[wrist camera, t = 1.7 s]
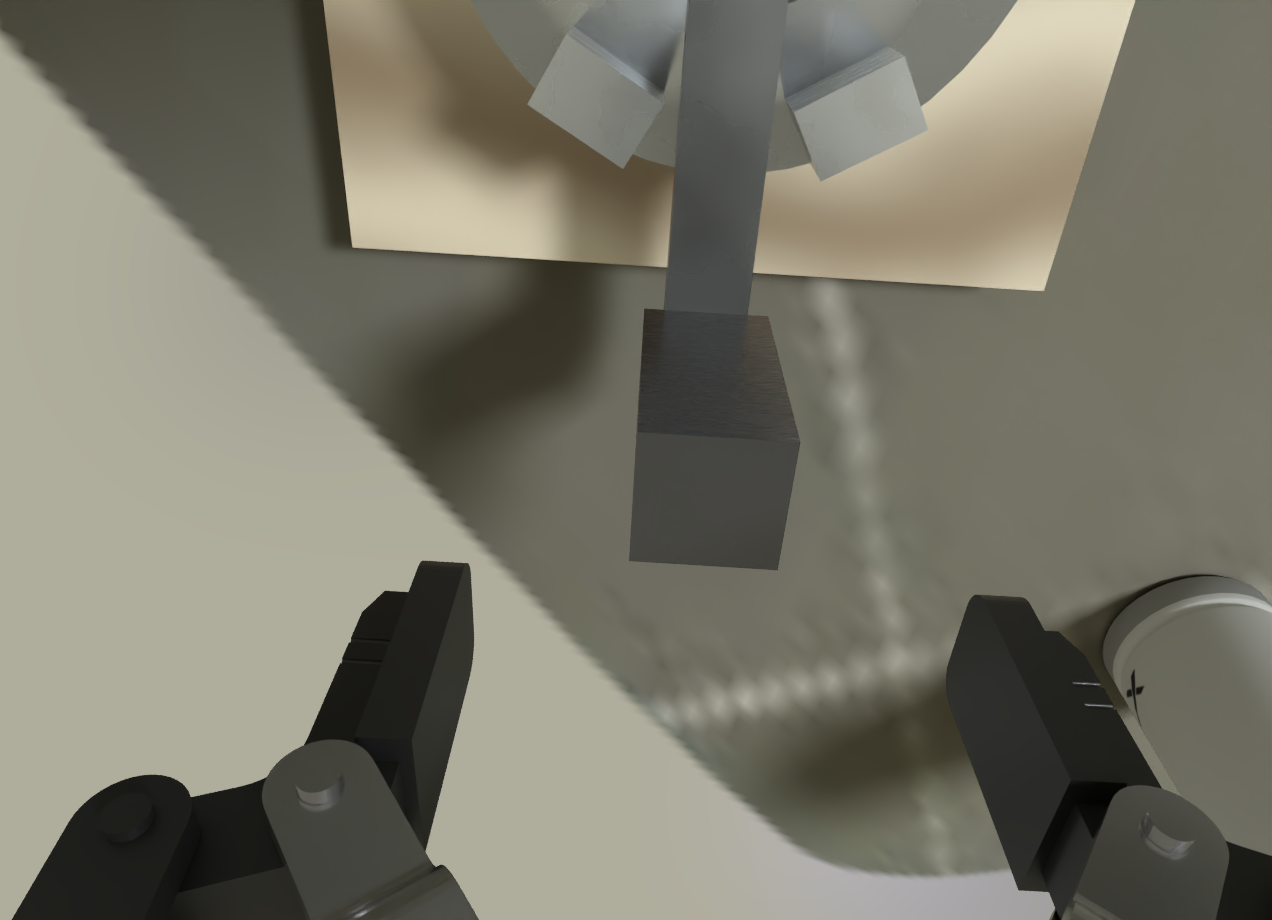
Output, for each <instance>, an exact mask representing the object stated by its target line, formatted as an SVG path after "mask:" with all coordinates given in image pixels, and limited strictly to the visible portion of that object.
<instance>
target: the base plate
mask: <svg viewBox="0 0 1272 920" xmlns="http://www.w3.org/2000/svg"><path fill="white" fill-rule="evenodd" d="M323 3H324V11H325V20H326V28H327V37H328V45H329V53H330V62H331V70H332V79H333V87H334V96H335V104H336V113H337V121H338V130H339V138H340V147H341V155H342V164H343V172H344V181H345V189H346V197H347V206H348V214H349V223H350V231H351V240H352V247H354V248H369V249H385V250H401V251H417V252H433V253H449V254H465V255H480V256H496V257H512V258H528V259H544V260H560V261H576V262H591V263H607V264H623V265H639V266H655V267H667V260H668V247H669V234H670V221H671V208H672V195H673V182H674V169H675V167H671V166H667V165H664V164H660V163H656V162H653V161H649V160H646V159H643V158H641V157H638V156H636V155H634V154H632V156H631V157H630V159H629V160H628V162H627V164H626V165H625V167H624V168H623V169H622V168H621V167H619V166H618V165H616V164H615V163H613V162H612V161H610V160H609V159H607V158H606V157H604V156H603V155H601V154H600V153H598V152H597V151H595V150H594V149H592V148H591V147H589V146H588V145H587V144H585V143H584V142H582V141H581V140H579V139H578V138H576V137H575V136H573V135H572V134H570V133H569V132H567V131H566V130H564V129H563V128H561V127H560V126H558V125H557V124H555V123H554V122H552V121H551V120H549V119H548V118H546V117H545V116H543V115H542V114H541V113H539V112H538V111H536V110H535V109H533V108H532V107H530V106H529V105H527V104H528V102H529V100H530V99H531V97H532V95H533V93H534V91H535V90H536V89H535V88H534V87H533V86H532V85H531V84H530V83H529V82H528V81H527V80H526V79H525V78H524V77H523V76H522V75H521V74H520V73H519V71H518V70H517V69H516V67H515V66H514V65H513V64H512V62H511V61H510V60H509V59H508V57H507V56H506V55H505V53H504V52H503V51H502V50H501V48H500V47H499V46H498V45H497V43H496V42H495V41H494V39H493V37H492V36H491V34H490V32H489V31H488V29H487V27H486V26H485V24H484V22H483V21H482V19H481V18H480V16H479V14H478V13H477V11H476V9H475V8H474V6H473V4H472V3H471V0H323ZM1134 3H1135V0H1018V1H1017V2H1016V3H1015V5H1014V6H1013V8H1012V9H1011V11H1010V12H1009V13H1008V15H1007V16H1006V18H1005V19H1004V20H1003V22H1002V23H1001V25H1000V26H999V27H998V29H997V30H996V32H995V33H994V34H993V36H992V37H991V38H990V40H989V41H988V42H987V43H986V44H985V45H984V46H983V47H982V49H981V50H980V51H979V52H978V53H977V54H976V55H975V57H974V58H973V59H972V60H971V61H970V62H969V63H968V65H967V66H966V67H965V68H964V69H963V70H962V71H961V72H960V73H959V74H958V75H957V76H956V77H955V78H954V79H952V80H951V81H950V82H949V83H948V84H947V85H946V86H945V87H944V88H943V89H942V90H940V91H939V92H938V93H937V94H936V95H935V96H934V97H933V98H932V99H931V100H929V101H928V102H927V103H925V104H924V105H923V106H921V109H922V112H923V115H924V118H925V121H926V124H927V127H928V131H925V132H923V133H921V134H919V135H917V136H915V137H913V138H911V139H909V140H907V141H905V142H902V143H900V144H898V145H896V146H894V147H892V148H890V149H888V150H886V151H884V152H882V153H880V154H877V155H875V156H873V157H871V158H869V159H867V160H865V161H863V162H861V163H859V164H857V165H854V166H852V167H850V168H848V169H846V170H844V171H842V172H840V173H838V174H836V175H834V176H831V177H829V178H827V179H825V180H823V181H820V180H819V178H818V176H817V174H816V173H815V171H814V169H813V168H812V166H811V164H810V163H809V164H805V165H801V166H798V167H794V168H790V169H784V170H777V171H769V172H766V177H765V184H764V192H763V200H762V207H761V215H760V223H759V230H758V238H757V246H756V254H755V261H754V269H753V273H766V274H782V275H797V276H813V277H829V278H845V279H861V280H877V281H893V282H908V283H924V284H940V285H956V286H972V287H988V288H1003V289H1019V290H1035V291H1044V288H1045V285H1046V282H1047V279H1048V276H1049V272H1050V269H1051V266H1052V263H1053V260H1054V256H1055V253H1056V250H1057V247H1058V244H1059V241H1060V237H1061V234H1062V231H1063V228H1064V225H1065V222H1066V218H1067V215H1068V212H1069V209H1070V206H1071V203H1072V199H1073V196H1074V193H1075V190H1076V187H1077V183H1078V180H1079V177H1080V174H1081V171H1082V168H1083V164H1084V161H1085V158H1086V155H1087V152H1088V149H1089V145H1090V142H1091V139H1092V136H1093V133H1094V130H1095V126H1096V123H1097V120H1098V117H1099V114H1100V111H1101V107H1102V104H1103V101H1104V98H1105V95H1106V91H1107V88H1108V85H1109V82H1110V79H1111V76H1112V72H1113V69H1114V66H1115V63H1116V60H1117V57H1118V53H1119V50H1120V47H1121V44H1122V41H1123V38H1124V34H1125V31H1126V28H1127V25H1128V22H1129V18H1130V15H1131V12H1132V9H1133V6H1134Z"/></svg>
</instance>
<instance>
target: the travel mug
mask: <svg viewBox="0 0 1272 920" xmlns="http://www.w3.org/2000/svg"><path fill="white" fill-rule="evenodd" d="M1103 660H1104V665H1105V667H1106V668H1107V670H1108V672H1109V674H1110V676H1111V678H1112V679H1113V681H1114V683H1115V684H1116V686H1117V688H1118V689H1119V691H1120V693H1121V695H1122V696H1123V697H1124V699H1125V701H1126V703H1127V705H1128V707H1129V708H1130V710H1131V712H1132V713H1133V715H1134V717H1135V718H1136V720H1137V722H1138V724H1139V725H1140V727H1141V729H1142V730H1143V732H1144V734H1145V735H1146V737H1147V739H1148V741H1149V742H1150V744H1151V746H1152V747H1153V749H1154V751H1155V753H1156V754H1157V756H1158V758H1159V759H1160V761H1161V763H1162V764H1163V766H1164V768H1165V770H1166V771H1167V773H1168V775H1169V776H1170V778H1171V780H1172V781H1173V783H1174V785H1175V787H1176V788H1177V790H1178V792H1179V793H1180V795H1181V797H1182V798H1184V799H1186V800H1187V801H1189V802H1190V803H1192V804H1193V805H1195V806H1196V807H1198V808H1199V809H1200V810H1201V811H1202V812H1204V813H1205V814H1206V815H1207V816H1208V817H1209V818H1210V819H1211V820H1212V821H1213V822H1214V823H1215V825H1216V826H1217V827H1218V829H1219V830H1220V831H1221V833H1222V835H1223V837H1224V838H1225V841H1228V842H1231V843H1233V844H1236V845H1239V846H1242V847H1245V848H1248V849H1251V850H1254V851H1258V852H1261V853H1264V854H1267V855H1270V856H1272V605H1271V603H1270V602H1269V601H1268V600H1267V599H1266V598H1265V597H1264V596H1263V594H1262V593H1261V592H1259V591H1258V590H1257V589H1255V588H1254V587H1252V586H1251V585H1249V584H1246V583H1244V582H1241V581H1239V580H1235V579H1230V578H1225V577H1219V576H1201V577H1192V578H1185V579H1182V580H1178V581H1174V582H1170V583H1168V584H1165V585H1163V586H1160V587H1158V588H1155V589H1153V590H1151V591H1149V592H1148V593H1146V594H1144V595H1142V596H1141V597H1139V598H1138V599H1136V600H1135V601H1134V602H1132V603H1131V604H1130V605H1128V606H1127V607H1126V608H1125V609H1124V610H1123V611H1122V612H1121V613H1120V614H1119V615H1118V616H1117V617H1116V619H1115V620H1114V622H1113V623H1112V625H1111V626H1110V628H1109V630H1108V632H1107V635H1106V637H1105V640H1104V645H1103Z"/></svg>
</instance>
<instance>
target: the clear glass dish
mask: <svg viewBox="0 0 1272 920" xmlns="http://www.w3.org/2000/svg"><path fill="white" fill-rule="evenodd" d="M1017 1H1018V0H471V3H472V4H473V6H474V8H475V9H476V11H477V13H478V14H479V16H480V18H481V19H482V21H483V22H484V24H485V26H486V27H487V29H488V31H489V32H490V34H491V36H492V37H493V39H494V41H495V42H496V43H497V45H498V46H499V47H500V48H501V50H502V51H503V52H504V53H505V55H506V56H507V57H508V59H509V60H510V61H511V62H512V64H513V65H514V66H515V67H516V69H517V70H518V71H519V73H520V74H521V75H522V76H523V77H524V78H525V79H526V80H527V81H528V82H529V83H530V84H531V85H532V86H533V87H534V88H535V89H536V90H535V91H534V93H533V95H532V97H531V99H530V100H529V102H528V104H527V105H529V106H530V107H532V108H533V109H535V110H536V111H538V112H539V113H541V114H542V115H543V116H545V117H546V118H548V119H549V120H551V121H552V122H554V123H555V124H557V125H558V126H560V127H561V128H563V129H564V130H566V131H567V132H569V133H570V134H572V135H573V136H575V137H576V138H578V139H579V140H581V141H582V142H584V143H585V144H587V145H588V146H589V147H591V148H592V149H594V150H595V151H597V152H598V153H600V154H601V155H603V156H604V157H606V158H607V159H609V160H610V161H612V162H613V163H615V164H616V165H618V166H619V167H621V168H622V169H623V168H624V167H625V165H626V164H627V162H628V160H629V159H630V157H631V156H632V154H634V155H636V156H638V157H641V158H643V159H646V160H649V161H653V162H656V163H660V164H664V165H667V166H671V167H675V169H674V182H673V195H672V208H671V221H670V234H669V247H668V260H667V274H666V287H665V300H664V310H657V309H644V323H643V339H642V354H641V370H640V386H639V402H638V417H637V435H636V452H635V469H634V487H633V504H632V521H631V539H630V556H629V561H639V562H655V563H671V564H687V565H703V566H719V567H736V568H752V569H768V570H778V564H779V559H780V553H781V548H782V542H783V536H784V531H785V525H786V520H787V514H788V508H789V503H790V497H791V492H792V486H793V480H794V475H795V469H796V464H797V458H798V452H799V447H800V439H799V436H798V432H797V428H796V424H795V420H794V416H793V412H792V408H791V404H790V400H789V396H788V393H787V389H786V385H785V381H784V377H783V373H782V369H781V365H780V361H779V357H778V353H777V349H776V346H775V342H774V338H773V334H772V330H771V326H770V322H769V318H768V316H752V315H748V307H749V300H750V292H751V284H752V277H753V269H754V261H755V254H756V246H757V238H758V230H759V223H760V215H761V207H762V200H763V192H764V184H765V177H766V172H769V171H777V170H784V169H790V168H794V167H798V166H801V165H805V164H809V163H810V164H811V166H812V168H813V169H814V171H815V173H816V174H817V176H818V178H819V180H820V181H823V180H825V179H827V178H829V177H831V176H834V175H836V174H838V173H840V172H842V171H844V170H846V169H848V168H850V167H852V166H854V165H857V164H859V163H861V162H863V161H865V160H867V159H869V158H871V157H873V156H875V155H877V154H880V153H882V152H884V151H886V150H888V149H890V148H892V147H894V146H896V145H898V144H900V143H902V142H905V141H907V140H909V139H911V138H913V137H915V136H917V135H919V134H921V133H923V132H925V131H928V127H927V124H926V121H925V118H924V115H923V112H922V109H921V106H923V105H924V104H925V103H927V102H928V101H929V100H931V99H932V98H933V97H934V96H935V95H936V94H937V93H938V92H939V91H940V90H942V89H943V88H944V87H945V86H946V85H947V84H948V83H949V82H950V81H951V80H952V79H954V78H955V77H956V76H957V75H958V74H959V73H960V72H961V71H962V70H963V69H964V68H965V67H966V66H967V65H968V63H969V62H970V61H971V60H972V59H973V58H974V57H975V55H976V54H977V53H978V52H979V51H980V50H981V49H982V47H983V46H984V45H985V44H986V43H987V42H988V41H989V40H990V38H991V37H992V36H993V34H994V33H995V32H996V30H997V29H998V27H999V26H1000V25H1001V23H1002V22H1003V20H1004V19H1005V18H1006V16H1007V15H1008V13H1009V12H1010V11H1011V9H1012V8H1013V6H1014V5H1015V3H1016V2H1017Z"/></svg>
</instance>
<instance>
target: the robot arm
mask: <svg viewBox="0 0 1272 920" xmlns="http://www.w3.org/2000/svg"><path fill="white" fill-rule="evenodd" d="M473 648H474V626H473V607H472V589H471V572H470V566H469V564H468V563H454V562H437V561H421V563H420V564H419V566H418V569H417V572H416V574H415V577H414V579H413V582H412V585H411V587H410V590H409V592H395V591H384V592H383V593H382V594H381V595H380V596H379V597H378V598H377V599H376V600H375V601H374V602H373V603H372V604H371V605H370V606H368V607H367V608H366V609H365V610H364V611H363V612H362V614H361V616H360V619H359V621H358V623H357V626H356V628H355V630H354V632H353V635H352V637H351V643H349V644H348V646H347V648H346V651H345V653H344V655H343V658H342V664H341V663H340V665H339V667H338V669H337V672H336V674H335V676H334V679H333V681H332V683H331V686H330V688H329V690H328V692H327V695H326V697H325V699H324V702H323V704H322V706H321V709H320V711H319V713H318V716H317V718H316V720H315V722H314V725H313V727H312V730H311V732H310V734H309V736H308V739H307V740H306V742H305V744H304V746H302V747H300V748H298V749H296V750H294V751H292V752H291V753H289V754H288V755H286V756H285V757H284V758H282V759H281V760H280V761H279V762H278V763H277V764H276V765H275V766H274V767H273V769H272V770H271V771H270V773H269V775H268V776H267V777H266V778H264V779H262V780H260V781H257V782H254V783H252V784H248V785H245V786H241V787H237V788H232V789H228V790H223V791H218V792H214V793H209V794H204V795H200V796H195V797H190V794H189V791H188V790H187V789H186V787H185V786H184V785H183V784H182V783H180V782H179V781H177V780H175V779H173V778H171V777H167V776H162V775H142V776H137V777H132V778H129V779H125V780H122V781H120V782H117V783H115V784H113V785H110V786H109V787H107V788H105V789H103V790H102V791H100V792H98V793H97V794H96V795H94V796H93V797H91V798H90V799H89V800H88V801H87V802H86V803H84V804H83V805H82V806H81V807H80V808H79V810H78V811H77V812H76V813H75V814H74V815H73V817H72V818H71V820H70V821H69V823H68V825H67V826H66V828H65V830H64V832H63V833H62V835H61V836H60V838H59V840H58V842H57V843H56V845H55V847H54V848H53V850H52V852H51V854H50V855H49V857H48V859H47V860H46V862H45V864H44V866H43V867H42V869H41V871H40V872H39V874H38V876H37V878H36V879H35V881H34V883H33V884H32V886H31V888H30V890H29V891H28V893H27V895H26V897H25V898H24V900H23V901H22V903H21V905H20V907H19V908H18V910H17V912H16V913H15V915H14V917H13V919H12V920H479V919H478V918H477V916H476V914H475V912H474V910H473V909H472V907H471V905H470V904H469V902H468V900H467V898H466V897H465V895H464V893H463V892H462V890H461V888H460V886H459V885H458V883H457V882H456V880H455V878H454V877H453V875H452V874H451V873H450V871H449V870H448V869H447V868H446V867H445V866H444V865H439V866H437V867H435V866H434V865H433V864H432V862H431V861H430V859H429V858H428V856H427V854H426V852H425V851H426V847H427V843H428V839H429V835H430V831H431V827H432V823H433V819H434V815H435V812H436V807H437V804H438V800H439V796H440V792H441V788H442V784H443V780H444V776H445V772H446V768H447V764H448V760H449V756H450V752H451V748H452V744H453V740H454V736H455V732H456V728H457V724H458V720H459V717H460V713H461V709H462V704H463V701H464V696H465V693H466V689H467V685H468V681H469V677H470V672H471V667H472V660H473V650H474V649H473ZM946 688H947V696H948V701H949V704H950V707H951V710H952V713H953V715H954V718H955V721H956V723H957V726H958V729H959V731H960V734H961V737H962V739H963V742H964V745H965V747H966V750H967V753H968V756H969V758H970V761H971V764H972V766H973V769H974V772H975V774H976V777H977V780H978V782H979V785H980V788H981V790H982V793H983V796H984V799H985V801H986V804H987V807H988V809H989V812H990V815H991V817H992V820H993V823H994V825H995V828H996V831H997V833H998V836H999V839H1000V842H1001V844H1002V847H1003V850H1004V852H1005V855H1006V858H1007V860H1008V863H1009V866H1010V868H1011V871H1012V874H1013V876H1014V879H1015V882H1016V885H1017V887H1018V890H1024V891H1042V892H1049V893H1050V896H1051V898H1052V901H1053V903H1054V906H1055V910H1054V911H1053V913H1052V915H1051V917H1050V920H1272V856H1270V855H1267V854H1264V853H1261V852H1258V851H1254V850H1251V849H1248V848H1245V847H1242V846H1239V845H1236V844H1233V843H1231V842H1228V841H1225V838H1224V837H1223V835H1222V833H1221V831H1220V830H1219V829H1218V827H1217V826H1216V825H1215V823H1214V822H1213V821H1212V820H1211V819H1210V818H1209V817H1208V816H1207V815H1206V814H1205V813H1204V812H1202V811H1201V810H1200V809H1199V808H1198V807H1196V806H1195V805H1193V804H1192V803H1190V802H1189V801H1187V800H1186V799H1184V798H1182V797H1180V796H1178V795H1176V794H1174V793H1172V792H1170V791H1167V790H1164V789H1162V788H1161V786H1160V784H1159V782H1158V781H1157V779H1156V777H1155V776H1154V774H1153V772H1152V770H1151V769H1150V767H1149V765H1148V764H1147V762H1146V760H1145V758H1144V757H1143V755H1142V753H1141V751H1140V750H1139V748H1138V746H1137V745H1136V743H1135V741H1134V739H1133V738H1132V736H1131V734H1130V733H1129V731H1128V729H1127V727H1126V726H1125V724H1124V722H1123V721H1122V719H1121V717H1120V715H1119V714H1118V712H1117V710H1113V703H1112V702H1111V700H1110V698H1109V697H1108V695H1107V693H1106V691H1105V690H1104V688H1101V687H1100V681H1099V679H1098V678H1097V676H1096V674H1095V672H1094V671H1093V669H1092V667H1091V666H1090V664H1089V662H1088V660H1087V659H1086V657H1085V656H1084V655H1083V654H1082V653H1081V652H1080V651H1079V650H1078V649H1077V648H1076V647H1074V646H1073V645H1072V644H1071V643H1070V642H1069V641H1068V640H1067V639H1066V638H1064V637H1063V636H1062V635H1061V634H1060V633H1059V632H1054V631H1044V629H1043V627H1042V625H1041V623H1040V621H1039V620H1038V618H1037V616H1036V614H1035V612H1034V610H1033V609H1032V607H1031V605H1030V603H1029V602H1028V601H1027V600H1026V599H1025V598H1022V597H1008V596H991V595H974V596H973V597H972V598H971V599H970V601H969V603H968V605H967V608H966V611H965V614H964V617H963V620H962V623H961V626H960V630H959V633H958V636H957V639H956V642H955V645H954V648H953V651H952V654H951V657H950V660H949V663H948V667H947V674H946Z"/></svg>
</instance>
